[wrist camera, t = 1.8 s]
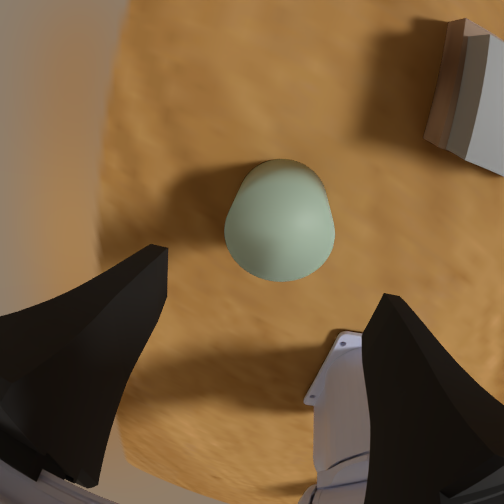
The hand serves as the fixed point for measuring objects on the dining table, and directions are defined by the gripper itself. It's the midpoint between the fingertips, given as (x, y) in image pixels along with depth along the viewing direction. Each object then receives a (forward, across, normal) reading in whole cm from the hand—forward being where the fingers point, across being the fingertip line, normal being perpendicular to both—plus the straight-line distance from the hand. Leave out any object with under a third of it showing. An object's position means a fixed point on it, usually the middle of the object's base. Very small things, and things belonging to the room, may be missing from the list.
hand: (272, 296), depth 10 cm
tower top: (+6, -10, -9) cm, 15 cm away
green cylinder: (+8, 0, 0) cm, 8 cm away
